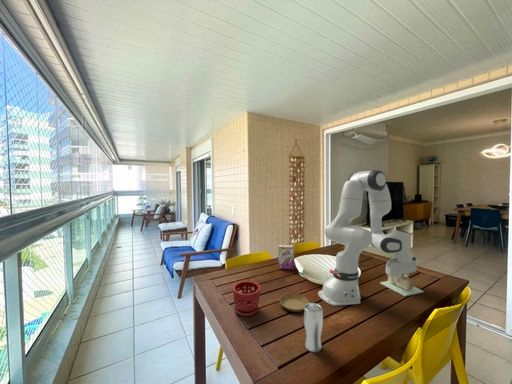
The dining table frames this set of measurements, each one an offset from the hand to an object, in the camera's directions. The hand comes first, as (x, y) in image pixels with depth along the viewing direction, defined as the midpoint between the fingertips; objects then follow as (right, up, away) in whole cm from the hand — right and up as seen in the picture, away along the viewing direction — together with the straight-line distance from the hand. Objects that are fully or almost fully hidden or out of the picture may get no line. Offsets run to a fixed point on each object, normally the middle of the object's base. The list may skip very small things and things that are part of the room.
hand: (400, 280), depth 127 cm
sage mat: (0, -4, 0) cm, 4 cm away
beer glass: (-63, -7, -45) cm, 78 cm away
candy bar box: (-63, -4, +31) cm, 70 cm away
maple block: (-2, 0, +6) cm, 7 cm away
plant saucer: (-66, -6, -17) cm, 68 cm away
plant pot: (-90, -6, -22) cm, 92 cm away
